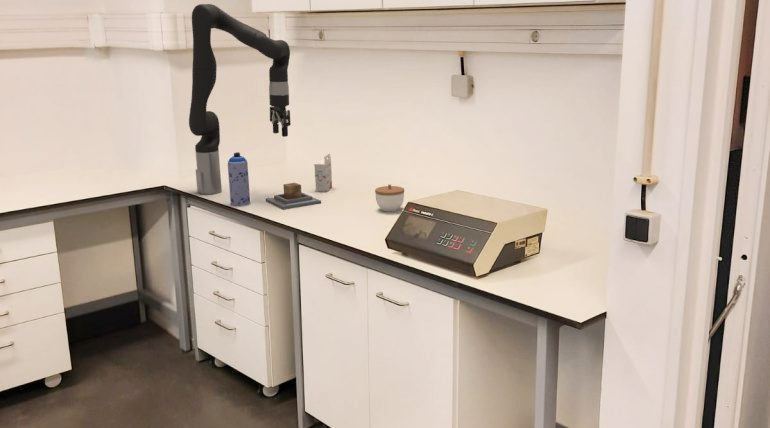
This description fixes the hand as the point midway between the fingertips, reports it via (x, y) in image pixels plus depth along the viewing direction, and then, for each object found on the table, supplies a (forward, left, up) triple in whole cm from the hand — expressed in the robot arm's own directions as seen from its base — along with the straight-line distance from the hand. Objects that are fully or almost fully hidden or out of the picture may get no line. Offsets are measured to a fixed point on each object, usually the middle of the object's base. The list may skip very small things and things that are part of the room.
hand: (280, 134), depth 280 cm
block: (-1, -11, -24) cm, 26 cm away
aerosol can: (-19, -1, -25) cm, 31 cm away
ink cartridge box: (+19, +1, -25) cm, 32 cm away
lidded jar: (+23, -43, -25) cm, 55 cm away
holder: (-1, -11, -25) cm, 27 cm away
